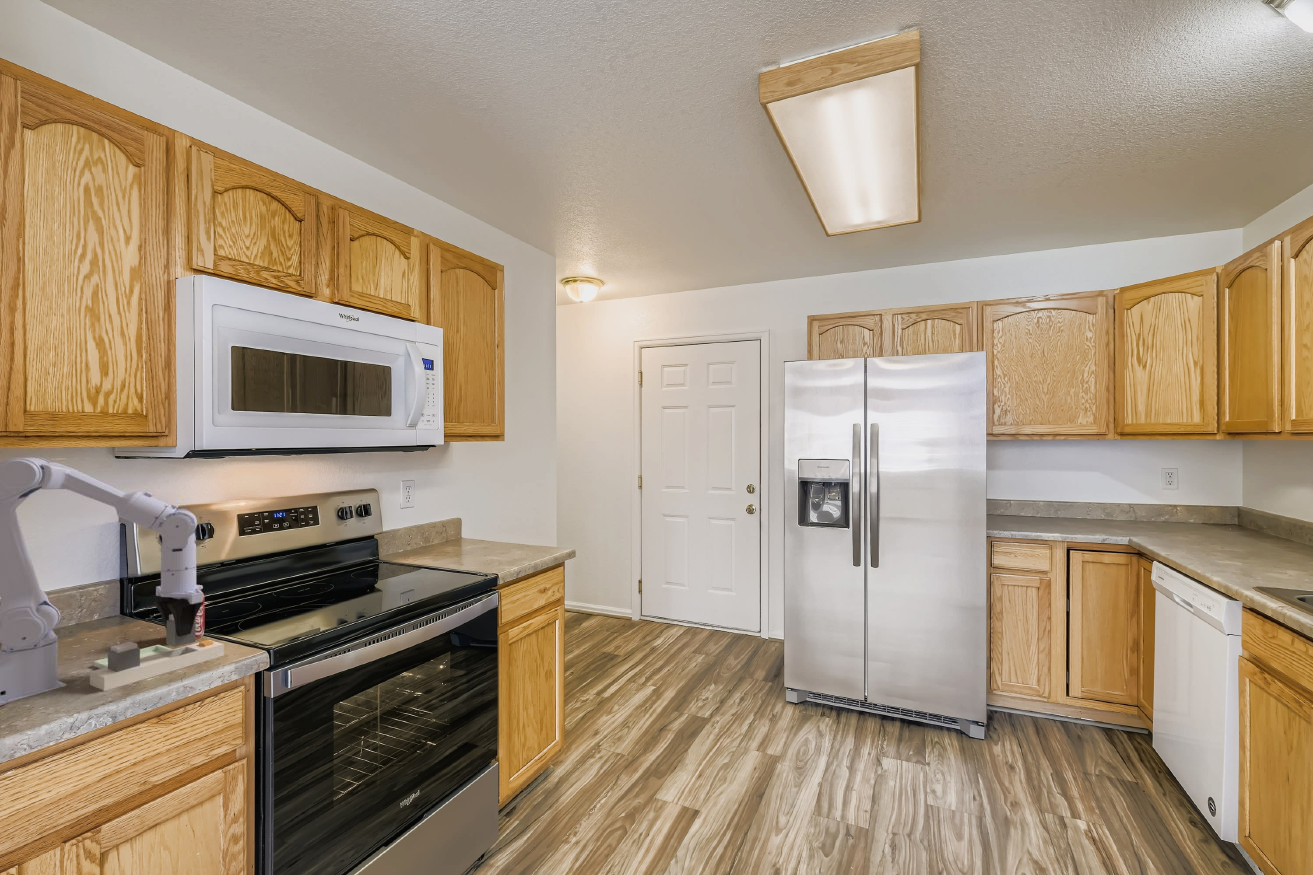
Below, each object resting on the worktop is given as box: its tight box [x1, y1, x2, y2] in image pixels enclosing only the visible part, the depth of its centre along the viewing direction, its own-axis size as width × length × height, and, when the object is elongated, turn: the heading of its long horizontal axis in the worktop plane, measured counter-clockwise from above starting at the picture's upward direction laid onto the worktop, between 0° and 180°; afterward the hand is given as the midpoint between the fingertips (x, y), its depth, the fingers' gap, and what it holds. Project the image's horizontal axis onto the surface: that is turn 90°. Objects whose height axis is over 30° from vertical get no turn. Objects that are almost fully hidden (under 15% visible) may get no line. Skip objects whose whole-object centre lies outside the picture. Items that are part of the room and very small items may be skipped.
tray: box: [93, 644, 173, 669], centre depth 123 cm, size 11×11×2 cm
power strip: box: [89, 639, 225, 692], centre depth 119 cm, size 20×6×7 cm, turn 153°
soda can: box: [195, 589, 206, 640], centre depth 138 cm, size 7×7×12 cm
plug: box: [165, 614, 196, 647], centre depth 122 cm, size 4×4×6 cm
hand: (179, 633), depth 122 cm, fingers closed on plug, 4 cm apart
